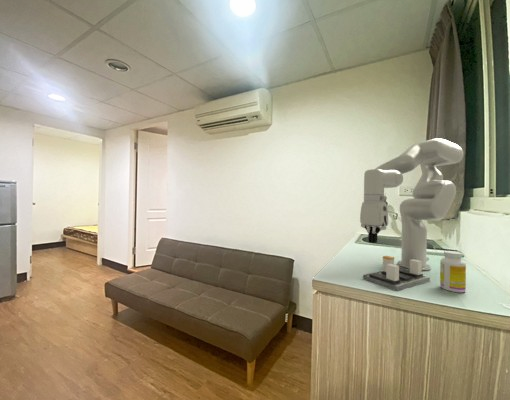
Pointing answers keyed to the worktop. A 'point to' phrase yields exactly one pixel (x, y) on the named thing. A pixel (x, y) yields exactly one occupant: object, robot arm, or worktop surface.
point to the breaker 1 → (392, 272)
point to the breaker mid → (387, 261)
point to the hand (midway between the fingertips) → (372, 242)
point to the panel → (404, 280)
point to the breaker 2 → (415, 267)
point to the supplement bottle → (453, 272)
